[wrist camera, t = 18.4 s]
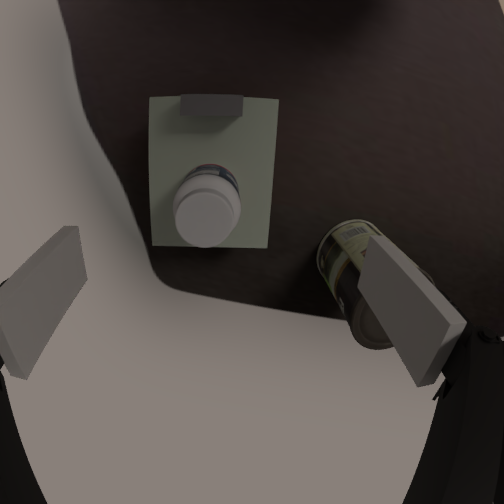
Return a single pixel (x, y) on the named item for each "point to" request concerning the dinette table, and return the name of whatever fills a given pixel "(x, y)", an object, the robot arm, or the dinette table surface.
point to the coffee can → (353, 279)
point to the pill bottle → (207, 205)
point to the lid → (212, 158)
